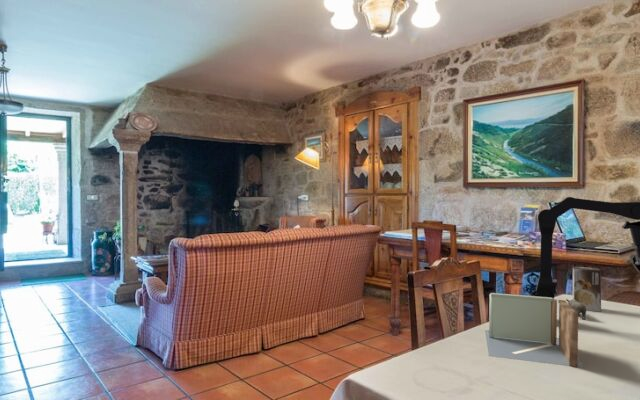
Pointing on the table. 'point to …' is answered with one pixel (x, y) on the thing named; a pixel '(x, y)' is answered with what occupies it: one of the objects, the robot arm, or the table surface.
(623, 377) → the table surface
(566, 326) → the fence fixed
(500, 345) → the card
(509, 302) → the panel
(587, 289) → the coffee box
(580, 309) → the rhino figurine
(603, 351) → the table surface
